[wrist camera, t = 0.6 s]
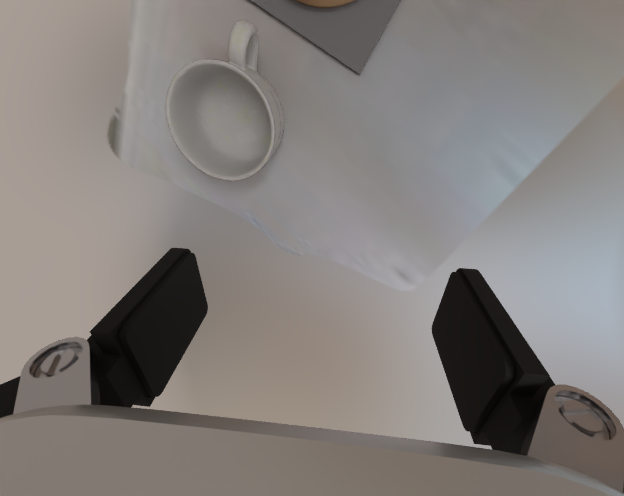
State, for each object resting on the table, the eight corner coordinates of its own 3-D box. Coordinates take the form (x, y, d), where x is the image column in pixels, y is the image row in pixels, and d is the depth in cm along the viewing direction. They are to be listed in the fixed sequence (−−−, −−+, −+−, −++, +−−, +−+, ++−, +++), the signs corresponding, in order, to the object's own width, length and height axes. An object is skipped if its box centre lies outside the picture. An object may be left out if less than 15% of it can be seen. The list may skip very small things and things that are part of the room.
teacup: (263, 177, 37) (246, 200, 30) (186, 129, 35) (149, 142, 28) (321, 73, 30) (315, 72, 23) (230, 4, 28) (195, -19, 21)
